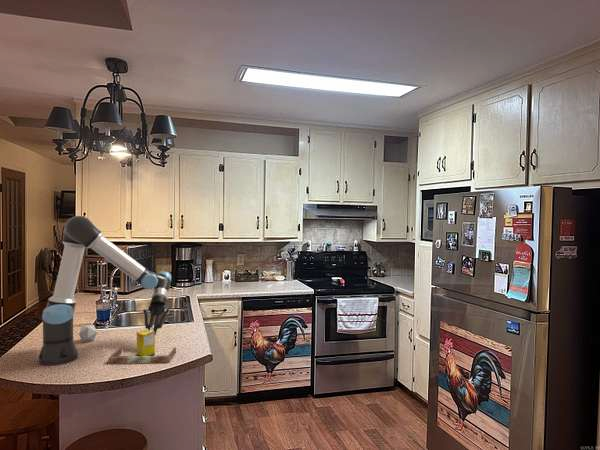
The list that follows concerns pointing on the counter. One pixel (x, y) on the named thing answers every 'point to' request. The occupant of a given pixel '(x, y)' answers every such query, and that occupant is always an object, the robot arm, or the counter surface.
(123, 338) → the counter surface
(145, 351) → the supplement box
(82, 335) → the die
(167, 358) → the frame
